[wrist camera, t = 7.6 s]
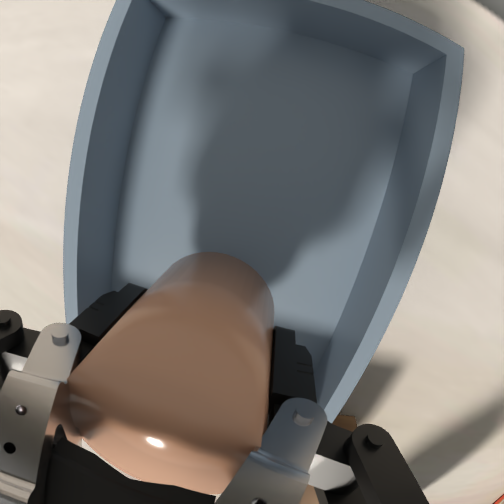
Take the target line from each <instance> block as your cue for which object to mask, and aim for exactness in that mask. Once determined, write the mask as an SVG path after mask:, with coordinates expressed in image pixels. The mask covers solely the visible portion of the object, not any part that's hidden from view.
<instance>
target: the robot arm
mask: <svg viewBox="0 0 504 504" xmlns="http://www.w3.org/2000/svg"><path fill="white" fill-rule="evenodd" d="M147 290H148V289H147V288H144V287H141V286H138V285H135V284H132V283H128V284H127V285H126V286H124V287H123V288H122V289H121V290H120V291H119V292H116V291H111V292H108V293H106V294H103V295H102V296H100V297H99V298H98V299H97V300H96V301H95V302H93V303H92V304H91V305H90V306H89V308H86V309H85V310H84V311H83V312H82V313H81V314H80V315H78V316H77V317H76V318H75V319H74V320H73V321H72V322H70V323H69V324H66V323H54V324H50V325H48V326H46V327H45V328H44V329H43V330H42V331H41V332H39V331H35V330H31V329H26V328H23V324H22V319H21V317H20V315H19V314H18V313H16V312H14V311H11V310H0V504H299V503H300V501H301V498H302V496H303V494H304V492H305V489H306V487H307V485H308V484H309V485H311V486H314V489H315V492H316V495H317V498H318V501H319V504H429V502H428V501H427V499H426V497H425V495H424V493H423V492H422V490H421V488H420V486H419V484H418V483H417V481H416V479H415V477H414V475H413V474H412V472H411V470H410V468H409V467H408V465H407V463H406V461H405V460H404V458H403V456H402V454H401V453H400V451H399V449H398V447H397V446H396V444H395V442H394V440H393V439H392V437H391V436H390V434H389V433H388V432H387V431H386V430H384V429H383V428H381V427H379V426H376V425H373V424H363V425H360V426H358V427H357V428H356V429H355V430H354V431H353V432H352V431H349V430H347V429H344V428H341V427H339V426H336V425H334V424H332V423H330V422H329V421H328V420H327V415H326V413H325V411H324V410H323V408H322V407H321V406H319V405H318V404H317V399H316V389H315V380H314V375H313V374H314V371H313V367H312V366H313V363H312V356H311V354H310V353H309V351H308V350H307V348H306V347H305V346H302V345H297V344H296V339H295V330H291V329H287V328H283V327H279V326H275V327H274V329H273V345H272V361H271V376H270V390H269V408H268V421H267V430H266V432H265V433H264V435H263V437H262V442H261V447H257V446H256V447H255V449H254V450H252V451H251V453H250V454H249V456H248V457H247V458H246V460H245V461H244V463H243V464H242V466H241V467H240V469H239V470H238V472H237V473H236V474H235V476H234V477H233V479H232V480H231V482H230V483H229V484H228V486H227V487H226V488H225V490H224V491H223V493H222V494H221V495H220V497H219V498H218V499H217V501H216V502H215V498H216V496H213V495H209V494H205V493H201V492H197V491H193V490H189V489H186V488H182V487H179V486H175V485H167V484H159V483H151V482H144V481H138V480H133V479H129V478H127V477H126V476H124V475H123V474H121V473H120V472H118V471H117V470H116V469H114V468H113V467H111V466H110V465H109V464H107V463H106V462H105V461H103V460H102V459H101V458H99V457H98V456H97V455H95V454H94V453H92V452H90V451H88V450H86V449H84V448H82V436H81V432H80V429H79V428H77V427H75V426H74V422H73V419H72V415H71V411H70V394H71V393H70V388H69V383H68V380H67V378H68V377H69V376H70V375H71V373H72V372H73V371H74V370H75V369H76V368H77V366H78V365H79V364H80V363H81V362H82V361H83V360H84V358H85V357H86V356H87V355H88V354H89V353H90V352H91V351H92V349H93V348H94V347H95V346H96V345H97V344H98V343H99V342H100V340H101V339H102V338H103V337H104V336H105V335H106V334H107V333H108V332H109V331H110V329H111V328H112V327H113V326H114V325H115V324H116V323H117V322H118V321H119V320H120V319H121V317H122V316H123V315H124V314H125V313H126V312H127V311H128V310H129V309H130V308H131V307H132V306H133V305H134V304H135V302H136V301H137V300H138V299H139V298H140V297H141V296H142V295H143V294H144V293H145V292H146V291H147Z"/></svg>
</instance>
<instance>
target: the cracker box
mask: <svg viewBox="0 0 504 504" xmlns="http://www.w3.org/2000/svg"><path fill="white" fill-rule="evenodd" d="M494 504H504V495H503V496H502V497H500V498H499V499H498V500H497V501H496V502H495V503H494Z"/></svg>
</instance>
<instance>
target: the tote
mask: <svg viewBox="0 0 504 504" xmlns="http://www.w3.org/2000/svg"><path fill="white" fill-rule="evenodd" d="M463 62H464V48H463V47H461V46H460V45H458V44H456V43H455V42H453V41H451V40H449V39H448V38H446V37H444V36H442V35H441V34H439V33H437V32H435V31H433V30H431V29H429V28H427V27H425V26H423V25H421V24H419V23H417V22H415V21H413V20H411V19H409V18H407V17H404V16H402V15H400V14H397V13H395V12H393V11H390V10H388V9H385V8H383V7H380V6H378V5H375V4H372V3H370V2H367V1H364V0H116V2H115V4H114V7H113V9H112V11H111V14H110V16H109V19H108V21H107V24H106V26H105V29H104V32H103V34H102V37H101V40H100V43H99V45H98V48H97V51H96V54H95V57H94V61H93V64H92V67H91V70H90V74H89V77H88V81H87V84H86V88H85V92H84V96H83V100H82V104H81V108H80V113H79V117H78V122H77V127H76V132H75V137H74V143H73V149H72V155H71V161H70V169H69V176H68V185H67V195H66V206H65V221H64V246H63V276H64V301H65V316H66V324H69V323H70V322H72V321H73V320H74V319H75V318H76V317H77V316H78V315H80V314H81V313H82V312H83V311H84V310H85V309H86V308H89V306H90V305H91V304H92V303H93V302H95V301H96V300H97V299H98V298H99V297H100V296H102V295H103V294H106V293H108V292H111V291H116V292H119V291H120V290H121V289H122V288H123V287H124V286H126V285H127V284H128V283H132V284H135V285H138V286H141V287H144V288H147V289H149V288H150V287H151V286H152V285H153V284H154V283H155V282H156V280H157V279H158V278H159V277H160V276H161V275H162V274H163V273H164V272H165V271H166V270H167V269H168V268H169V267H170V266H171V265H172V264H173V263H175V262H176V261H178V260H179V259H181V258H183V257H185V256H188V255H191V254H194V253H200V252H218V253H223V254H227V255H230V256H233V257H235V258H237V259H240V260H242V261H243V262H245V263H246V264H248V265H249V266H251V267H252V268H253V269H254V270H255V271H257V273H258V274H259V275H260V276H261V277H262V278H263V280H264V281H265V282H266V284H267V286H268V288H269V290H270V292H271V295H272V297H273V302H274V311H275V313H274V327H275V326H279V327H283V328H287V329H291V330H295V339H296V344H297V345H302V346H305V347H306V348H307V350H308V351H309V353H310V354H311V356H312V363H313V366H312V367H313V371H314V374H313V375H314V380H315V389H316V399H317V404H318V405H319V406H321V407H322V408H323V410H324V411H325V413H326V415H327V420H328V421H329V422H330V423H333V421H334V420H335V418H336V417H337V415H338V414H339V412H340V410H341V409H342V407H343V406H344V404H345V403H346V401H347V399H348V398H349V396H350V395H351V393H352V391H353V390H354V388H355V386H356V385H357V383H358V381H359V380H360V378H361V376H362V374H363V373H364V371H365V369H366V367H367V365H368V364H369V362H370V360H371V358H372V356H373V355H374V353H375V351H376V349H377V347H378V345H379V343H380V341H381V339H382V337H383V335H384V333H385V331H386V329H387V327H388V325H389V323H390V321H391V319H392V317H393V315H394V313H395V311H396V308H397V306H398V304H399V302H400V300H401V297H402V295H403V293H404V290H405V288H406V286H407V283H408V281H409V279H410V276H411V274H412V271H413V269H414V266H415V264H416V261H417V258H418V256H419V253H420V250H421V248H422V245H423V242H424V239H425V237H426V234H427V231H428V228H429V225H430V222H431V219H432V216H433V212H434V209H435V206H436V203H437V199H438V196H439V192H440V189H441V185H442V182H443V178H444V174H445V170H446V166H447V162H448V157H449V153H450V149H451V144H452V139H453V134H454V129H455V124H456V118H457V112H458V105H459V99H460V91H461V83H462V74H463Z"/></svg>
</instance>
